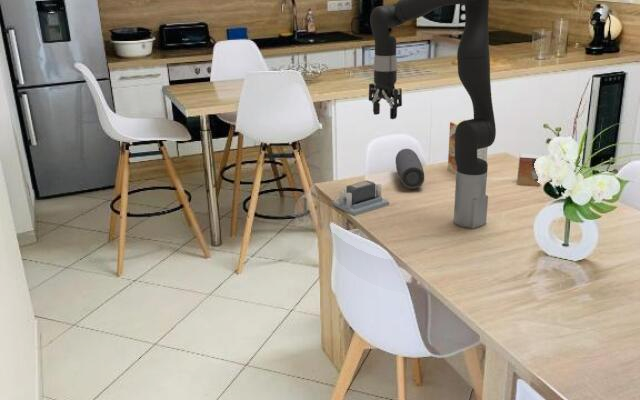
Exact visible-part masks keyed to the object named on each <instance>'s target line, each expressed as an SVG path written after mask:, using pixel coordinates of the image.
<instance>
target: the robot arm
mask: <svg viewBox="0 0 640 400" xmlns="http://www.w3.org/2000/svg"><path fill="white" fill-rule="evenodd" d="M456 5H462V6H464V10H465V12H464V14H465V16H464V17H465V21H464V27H463V28H464V29H463V31H462V35H461V38H460V41H459V43H458V48H457V51H456V52H457V53H456V58H457V60H456V61H457V74H458V78H459V80H460V83H461V84H462V85H463V87H464V89H465V90H466V92H467V94H468V96H469V97H470V100H471V103H472V107H473V108H472V109H473V118H471V119H467V120H466V119H464V120H465V121H462V122H460V123H459V124H458V125H457V127H456V131H455V161H456V165H457V170H456V174H455V190H454V191H455V192H454V206H453V207H454V209H453V223H454V224H455V225H457V226H459V227H463V228H470V229H476V228H479V227H482V226H485V225H487V216H488V204H489V195H487V194H486V193H487V192H486V191H487V180H488V162H486V161H485V160H483V159H480V158H477V149H481V148H486V147H488V148H489V147H490V146H492V145H493V144H494V143H495V139H496V134H497V131H496V130H497V129H496V121H495V120H496V119H495V114H494V108H493V100H492V85H491V84H492V83H491V59H490V58H491V57H490V47H489V42H490V40H489V39H490V38H489V8H490V7H489V5H490V0H398V1H397V2H396V3H392V4H386V5H379V6H376V7H374V8H373V10H371V13H370V18H369V23H370V28H371V33H372V36H373V39H374V58H373V82H372V83H369V85H368V101H369V102H371V103H372V112H373V115H375V116H377V115H379V114H380V112H381V103H380V102H381V100H382V99H383V100H385V101H386V103H388V104H389V107H390V108H389V113H390V114H389V118H390V120H395V119H397V117H398V116H397V115H398V108H399V107H402V106H403V96H402V95H403V92H402V90H403V89H402V88H401V87H400V88H396V86H395V85H396V82H397V80H398V79H397V78H398V77H397V72H398V71H397V70H398V59H397V38H396V37H395V36H393V35H390V32H389V29H390V28H395V27H398V26H401V25H404V24H405V23H406V22H410V21H412V20H413V21H414V20H417V19H419V18H422V17H424V16H426V15H428V14H430V13H431V12H433V11H435V10H437V9H439V8H442V7H447V6H456Z"/></svg>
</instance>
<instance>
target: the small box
mask: <svg viewBox="0 0 640 400" xmlns="http://www.w3.org/2000/svg"><path fill="white" fill-rule="evenodd" d="M541 156H543V154H535V153H534V154H533V153H523V152H520V153H519V159H518V165H517V166H518V167H517V178H516V185H521V186H522V185H525V186H531V187H540V186H541V183H540V184H539V183H538V182H537V181H538V176H537V174H536V171H535V168H534V163H535V161H536V159H537V158H539V157H541Z"/></svg>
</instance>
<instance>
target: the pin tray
mask: <svg viewBox="0 0 640 400" xmlns="http://www.w3.org/2000/svg"><path fill="white" fill-rule="evenodd" d="M370 182H372V183H375V181H370ZM389 205H390V201H389V200H386V199H384V198H383V197H382V184H379V183H378V184H376V195H375V199H372V200H369V201H365V202H362V203H359V204H355V205H353V206H352V193H346V189H340V190H339V199H337V200H333V201H332V206H334V207H336V208H337V209H340V210H342V211H344V212H347V213H348V214H351V215H352V216H357V215H360V214H361V215H362V214H364V213H367V212H371V211H373V210H377V209H379V208H384V207H386V206H389Z"/></svg>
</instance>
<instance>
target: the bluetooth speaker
mask: <svg viewBox="0 0 640 400" xmlns="http://www.w3.org/2000/svg"><path fill="white" fill-rule="evenodd" d="M395 167H396V173H397V175H398V178H399V180H400V182H401V184H402V185H403V186H404V187H406V189H411V190H414V189H418V188H420V187H421V186H423V183H424V182H425V172H424V167H423V164H422V162H421V160H420V158H419V156H418V154H417V153H416V152H415V151H414V149H410V148H403V149H401V150H399V151H398V152H397V154H396V156H395Z"/></svg>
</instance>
